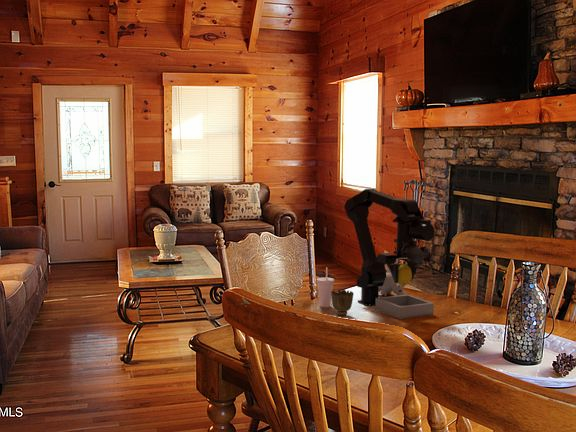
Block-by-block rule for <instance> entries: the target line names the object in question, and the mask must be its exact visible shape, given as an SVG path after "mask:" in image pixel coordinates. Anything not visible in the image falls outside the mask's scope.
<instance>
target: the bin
mask: <svg viewBox="0 0 576 432" xmlns="http://www.w3.org/2000/svg"><path fill="white" fill-rule="evenodd" d="M434 306H435V305H434V302H432V301H428V300H424V299H422V298H419V297H416V296H413V295H410V294H405V295H399V296H397V295H391V296H390V295H389V296H381V297H379V298H376V305H375V310H377V311H378V312H381V313H383V314H385V315H387V316H391V317H392V318H393V317H394V318H395V319H398V320H404V319H405V320H406V319H412V318H413V319H414V318H419V317H428V316H434V310H435V309H434Z"/></svg>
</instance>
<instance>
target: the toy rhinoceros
mask: <svg viewBox="0 0 576 432" xmlns="http://www.w3.org/2000/svg"><path fill="white" fill-rule="evenodd" d="M378 288H379V291H378V292H379V293H380V295H381V296H382V295H387V294H390V295H392V292H393V293H394V295H396V296H399V295H406V292H407V291H406V290H405V291H404V287H402V286H401V285H400V284H398V283H395V282H394V279H393V277H392V274H391V272H386V278H385V281H384V284H383V286H379V287H378ZM387 296H388V295H387Z"/></svg>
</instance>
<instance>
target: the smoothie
mask: <svg viewBox="0 0 576 432" xmlns="http://www.w3.org/2000/svg"><path fill="white" fill-rule="evenodd" d="M328 273H329V270H328V267H325V277H317V278H316V283H317V294H318V304H319V307H321V308H330V307H331V303H332V295H331V292H332V291H334V290H333V289H334V283H335V278H333V277H328V276H329V275H328Z"/></svg>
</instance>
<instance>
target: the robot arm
mask: <svg viewBox="0 0 576 432" xmlns="http://www.w3.org/2000/svg"><path fill="white" fill-rule="evenodd" d="M374 204H375V205H379V206H381V207H383V208H387V209H389V210H390V212H391V213H392V214H393V215H395V216H396V217H395V218H393V220H392V223H396V225H397V227H396V238H394V239H393V240H394V243H396V244H395V250H393V254H392V253H389V252H379V253H378V254H377V253H376V249H375V245H374V243H373V238H372V234H371V230H370V227H369V223H368V218H369V214H370V210H369V209H370V208H371V206H373V205H374ZM418 204H419V203H418V202H417V201H416V200H415V199H410V198H409V199H408V198H401V197H400V198H398V197H395V196H393V195H390V194H386V193H384V192H381V191H379V190H377V189H375V188H365V189H363V190H362V191H360V192H359V193H358V194H355V195H353V196H352V197H351V198H347V200H346V201H345V203H344V210H345V213H346V216H347V218H348V219H349V220H350V221H351V223H352V224H353V226H354V228H355V234H356V238H357V242H358V245H359V250H360V254H361V257H362V264H361V268H360V271H361V275H360V276H359V277H358V278H357V279H356V280H355V282H356V286H357V288H361V291H360V293H361V295H360V296H361V297H360V299H358V300H357V303H358V304H359V303H360V304H361V305H365V306H367V307H369V306H374V305H375V306H376V298H380V297H379V295H380V292H378V291H379V288H378V287H379V286H383V284H384V281H385V278H386V273H388V271H387V269H386V266H387V268H388V270H389V273H391V274H392V277H393V279H394V282H395V283H397V282H398V269H399V267H400V265H402V264H401V263H399V261H406V262H407V263H406V265H407V266H408V267H409V268H410V269H411V272H412V279H411V281H410V283H412V281H413V279H414V277H415V275H416V272H417V270H418V268H419V267H420V266H422V265H424V263H426V262H432V255H431V253H430V252H429V247H427V246H421V247H418V245H417V240H420V241H425V242H431V240H433V238H434V237H435V233H436V230H435V228H434V225H433V224H431V223H432V221H431V219H425V218H424V215H423V214H422V211H421V210H420V207H419V205H418Z"/></svg>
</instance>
